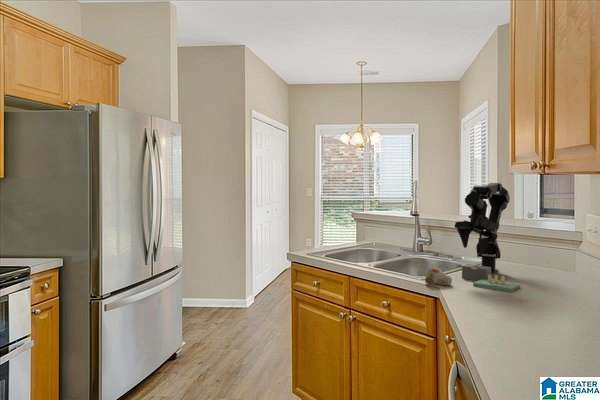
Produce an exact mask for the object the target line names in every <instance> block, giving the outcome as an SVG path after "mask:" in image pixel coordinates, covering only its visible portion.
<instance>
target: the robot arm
mask: <svg viewBox="0 0 600 400" xmlns="http://www.w3.org/2000/svg"><path fill="white" fill-rule="evenodd" d="M486 200H488V203H489V205H490V206H489V207H490V211H489V216H487V212H488V211H487V210H488V203H487V202H486ZM510 200H511V197H510V194H509V191H508V190H507V189H506V188H505V187H503V185H502V183H501V182H490V183H488V184H485V185H473V186H472V188H471V190H470V191H469V193H468V194H467V195H466V196H465V198H464V203H465V204H466V206H468V208H469V209H470V210H471V213H470V214H469V215H468V219H469V220H466V219H465V220H463V219H462V220H457V221H456V222H455V224H454V228H455V229H456V231H457V233H458V234H459V238H460V239H461V243H462V246H463V248H464V249H466V248H467V247H468V243H469V239H470V234H471V233H475V234H478V236H479V238H478V242H477V243H476V248H475V249H476V257H478V258H481V266H485V267H491V274H494V273H496V272H499V269H498V268H496V266H497V265H496V262H497V260H499V259H501V250H500V248H499V244H498V241H497V239H498V231H499V228H500V221H501V216H502V212H503V211H504V210H505V209H507V208H508V204H509V203H510Z"/></svg>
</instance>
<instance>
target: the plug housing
mask: <svg viewBox="0 0 600 400" xmlns="http://www.w3.org/2000/svg"><path fill="white" fill-rule="evenodd" d="M489 274H490V275H491V276H492V273H491V267H485V266H482V265H479V264H478V265H477V264H469V263H466V264H464V265H462V266H461V278H462V279H468V280H473V281H474V280H475V281H479V280H481V279H488V275H489Z"/></svg>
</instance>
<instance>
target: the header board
mask: <svg viewBox="0 0 600 400" xmlns="http://www.w3.org/2000/svg"><path fill="white" fill-rule="evenodd" d="M472 286H473V287H478V288H484V289H491V290H495V291H496V290H497V291H503V292H509V293H512V292H514V291H516V290H518V289H519V288H520V287H521V284H519V283H514V282H508V281H505V276H501V280H500V281H499V276H498V275H496V274H495V275H494V280H493V279H492V274H491V275H490V274H489V275H488V279H481V280H475V281H474V282H473V283H472Z"/></svg>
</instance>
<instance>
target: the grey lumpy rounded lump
mask: <svg viewBox="0 0 600 400" xmlns="http://www.w3.org/2000/svg"><path fill="white" fill-rule="evenodd" d="M452 281H453V277H451V276H450V275H448V274H446V273H444V272H443V271H441V270H440V268H438V267H437V266H433V265H432V266H429V268H428V270H427V272H426V276H425V279H424V282H425V283H426V284H428V285H432V284H438V285H442V286H446V285H447V286H446V287H449V286H451V284H452Z"/></svg>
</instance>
